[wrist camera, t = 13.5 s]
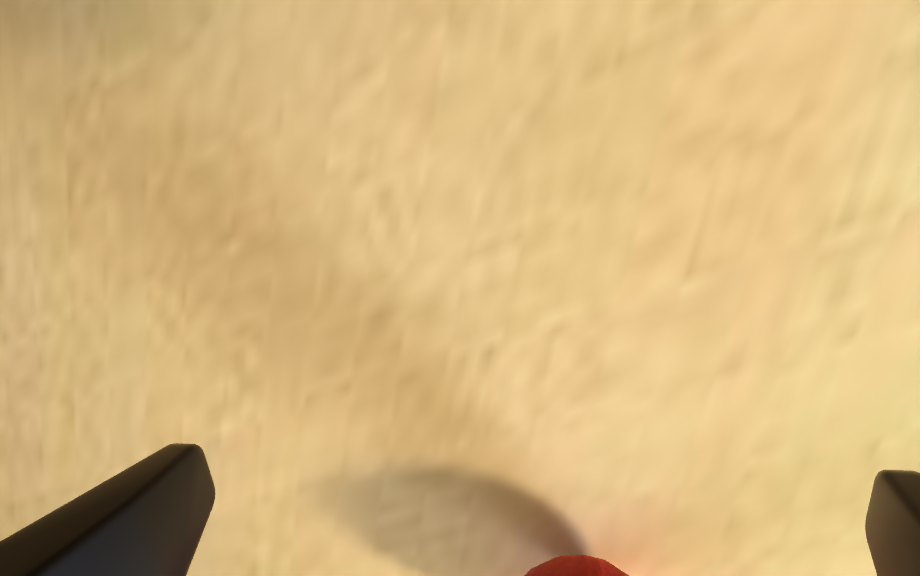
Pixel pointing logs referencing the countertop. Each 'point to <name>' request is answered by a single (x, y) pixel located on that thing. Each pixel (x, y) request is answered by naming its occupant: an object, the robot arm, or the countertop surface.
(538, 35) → the countertop surface
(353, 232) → the countertop surface
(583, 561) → the onion
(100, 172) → the countertop surface
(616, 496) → the countertop surface
